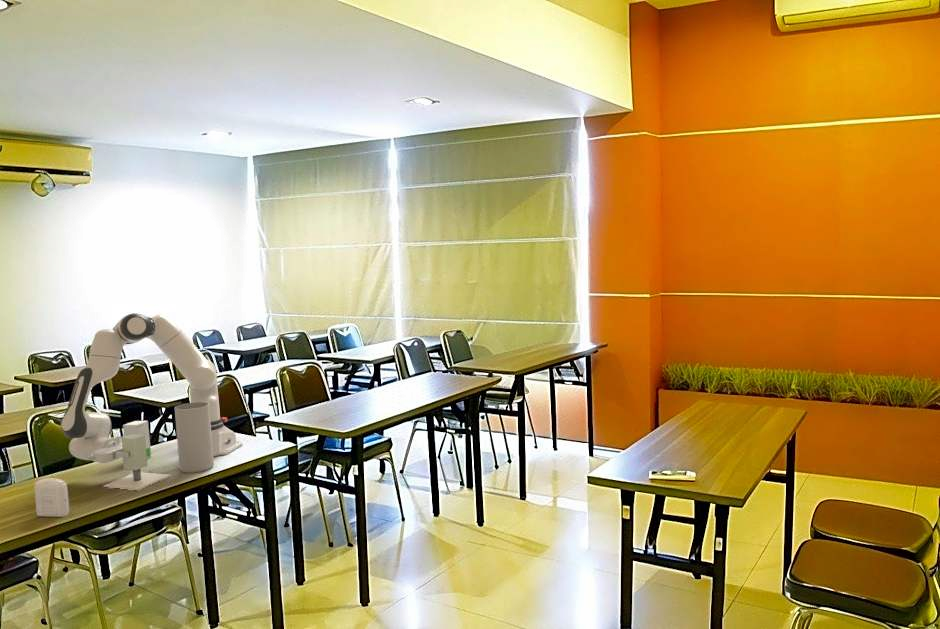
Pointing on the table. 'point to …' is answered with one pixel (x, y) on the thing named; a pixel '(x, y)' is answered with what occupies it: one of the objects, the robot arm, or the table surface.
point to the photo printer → (51, 497)
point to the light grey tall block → (134, 451)
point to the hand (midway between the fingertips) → (136, 451)
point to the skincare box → (139, 432)
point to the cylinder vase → (194, 437)
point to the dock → (136, 484)
